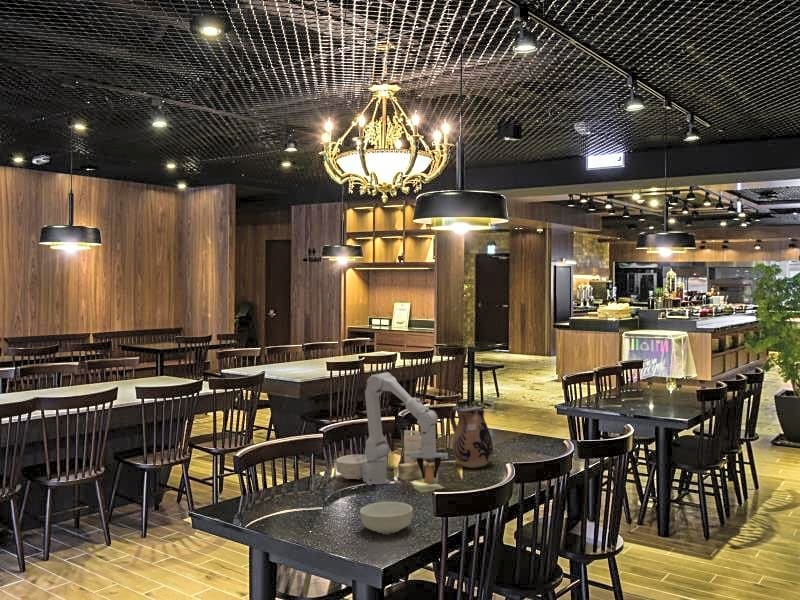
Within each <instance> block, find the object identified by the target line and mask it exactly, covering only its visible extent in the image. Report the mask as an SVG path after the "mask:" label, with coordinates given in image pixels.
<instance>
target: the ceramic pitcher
mask: <svg viewBox="0 0 800 600" xmlns="http://www.w3.org/2000/svg"><path fill="white" fill-rule="evenodd" d="M455 412H457V413H458V421H457V422H456V417H455ZM484 414H485V410H484V407H483V406H455V407H454V406H453V408H451V409H450V412H449V420H450V424H451V427H452V430H453V432H454V433H453V434H454V436H453V440H452V453H453V456H454V458H455V460H456V461H457V462H458V464H460V465H461V466H462V467H465V468H469V469H477V468H481V467H485V466H487V464H488V463H489V462H490V461H491V459H492V458H493V454H494V443H493V440H492V436H491V434H490V430H489V428H488V424H487V422H486V420H485V415H484Z"/></svg>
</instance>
